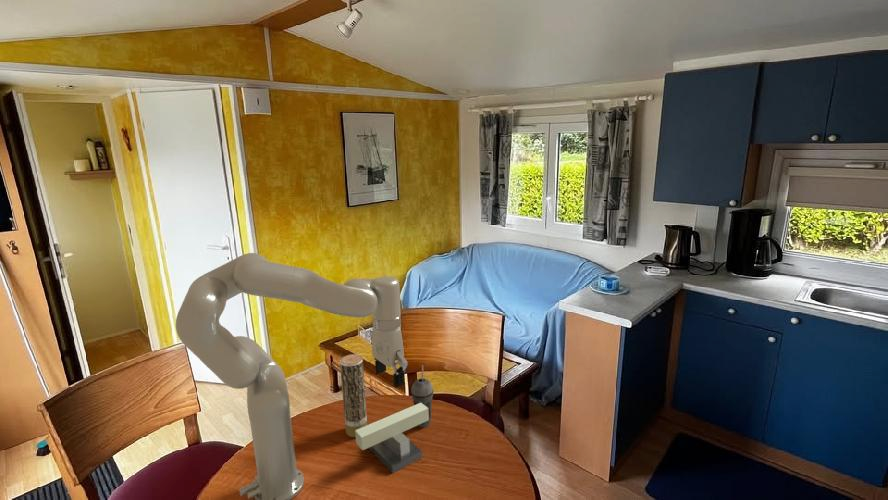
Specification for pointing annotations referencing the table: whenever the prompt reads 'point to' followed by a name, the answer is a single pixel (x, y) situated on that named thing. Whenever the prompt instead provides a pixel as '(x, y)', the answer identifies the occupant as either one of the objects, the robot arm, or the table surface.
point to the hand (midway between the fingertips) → (389, 378)
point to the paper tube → (353, 393)
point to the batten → (391, 426)
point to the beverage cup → (423, 395)
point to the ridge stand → (396, 452)
